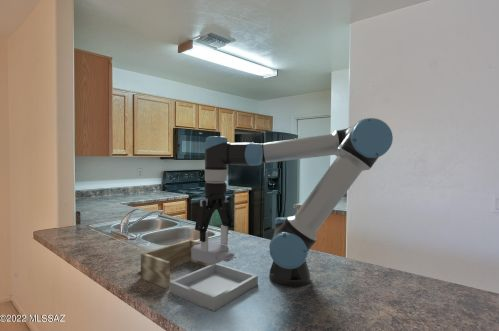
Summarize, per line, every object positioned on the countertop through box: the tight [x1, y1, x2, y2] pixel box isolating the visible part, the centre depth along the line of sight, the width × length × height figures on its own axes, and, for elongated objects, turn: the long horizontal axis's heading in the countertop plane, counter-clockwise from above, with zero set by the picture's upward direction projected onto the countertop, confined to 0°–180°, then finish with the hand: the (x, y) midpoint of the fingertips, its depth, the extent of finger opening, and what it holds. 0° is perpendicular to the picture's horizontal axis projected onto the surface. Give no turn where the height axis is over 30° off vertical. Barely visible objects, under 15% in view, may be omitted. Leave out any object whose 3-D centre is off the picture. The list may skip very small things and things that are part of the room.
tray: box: [168, 263, 259, 313], centre depth 99 cm, size 20×22×4 cm
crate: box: [140, 239, 211, 290], centre depth 113 cm, size 15×24×9 cm, turn 144°
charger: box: [191, 240, 237, 265], centre depth 98 cm, size 5×9×15 cm
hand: (214, 247), depth 99 cm, fingers closed on charger, 9 cm apart
